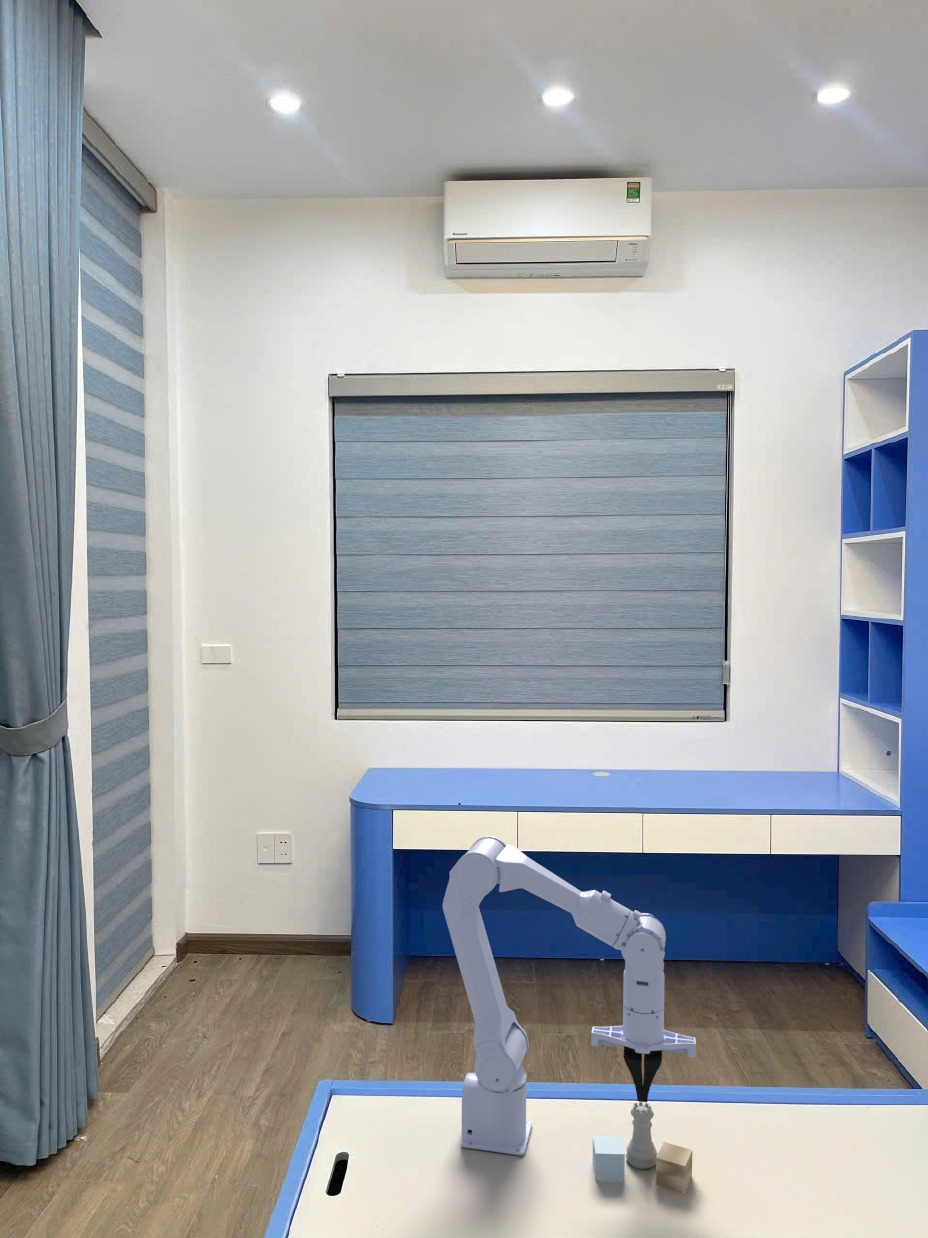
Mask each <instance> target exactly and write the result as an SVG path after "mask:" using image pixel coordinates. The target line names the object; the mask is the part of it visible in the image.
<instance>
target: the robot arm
mask: <svg viewBox="0 0 928 1238" xmlns="http://www.w3.org/2000/svg"><path fill="white" fill-rule="evenodd" d="M497 884H498V885H499V889H498V892H499V893H504V892H508V891H513V890H514V891H515V890H517V889H523V890H525V891H527V892H529V893H531V894H533V895H535V896H536V897H538V898H541V899H543V900H545V901H546V902H549V903H551V904H553V905H555V906H557V907H559V908H560V909H562V910H565V911H566V912H568V913H570V914H571V915H572V918H573V920H574V923H575V925H576V927H578V928H579V929H582V930H583V931H584V932H586V933H588V934H589V935H592V936H593V937H594V938H597V939H598V940H600V941H602V942H603V943H605V944H607V945H608V946H610V947H612V948H614V949H615V950H618V951H621V952H620V953H621V956H622V958H623V960H624V962H625V963H624V970H623V981H622V982H623V984H622V985H623V988H622V989H623V995H622V997H623V998H622V999H623V1000H622V1002H623V1003H622V1005H623V1006H622V1025H613V1026H611V1025H610V1026H592V1028H591V1032H590V1033H591V1034H590V1035H591V1036H590V1037H591V1041H590V1042H591V1046H593V1047H599V1046H600V1045H601V1046H602V1045H603V1046H612V1047H621V1048H623V1060H624V1064H625V1065H626V1066H627V1069H628V1070H629V1074H630V1075H631V1078H632V1081H633V1084H634V1088H635V1092H636V1100H637V1102H642V1103H648V1100H649V1099H648V1098H649V1093H650V1089H651V1086H652V1083H653V1081H654V1079H655V1076H656V1074H657V1072H658V1071H659V1069H660V1067H661V1064H662V1062H663V1052H666V1053H675V1054H685V1055H687V1057H689V1058H690V1057H691V1058H696V1057H697V1040H696V1038H697V1037H695V1036H689V1035H684V1034H680V1033H676V1032H673V1031H669V1030H666V1029H665V977H666V976H665V973H664V969H665V962H664V959H665V955H666V952H665V947H666V940H667V939H666V938H667V935H666V934H667V933H666V930H665V928H664V927H665V926H664V925H663V923H662V922H661V921H660V920H659V919H657V918H656V917H655V916H654V915H653V914H651V913H647V912H645V913H644V912H641V911H639V910H636V909H635V910H634V911H633V910H631V909H630V908H628V907H626V906H624V905H623V904H620V903H619V902H617V901H615V900H613V899H612V898H611V896H612V894H611V893H609V892H608V891H606V890H602V892H600V891H598V890H596V889H593V890H592V889H591V890H587V891H586V890H585V891H581V890H580V889H578V888H577V887H575V886H574V885H572V884H571V883H569V882H567V881H566V880H564V879H563V878H561V877H560V876H558V875H556V874H555V873H553V872H552V871H551V870H548V868H546V867H544V866H543V865H541V864H539V863H537V862H536V861H535V860H533V859H532V858H530V857H529V856H527V855H526V854H525V853H523V851H521V850H520V849H519V848H517V847H516V846H514V845H512V844H509V843H507V844H506V843H505V841H503V840H502V839H500V838H498V837H497V836H493V835H492V836H491V835H487V836H483V837H480V838H478V839H477V840H476V841H475V842H473V844H472V845H471V847H470V848H469V849H468V850H467V852H466V853H465V854H463V855H462V856H461V857H460V858H459V859H458V861H457V862H456V863H455V865H453V867H452V868H451V870H450V871H449V880H448V883H447V886H446V890H445V893H444V897H443V900H442V901H443V902H442V911H443V914H444V918H445V921H446V924H447V928H448V932H449V935H450V939H451V941H452V942H451V943H452V945H453V949H454V953H455V955H456V956H455V957H456V960H457V963H458V967H459V969H460V970H459V971H460V974H461V977H462V981H463V985H464V988H465V993H466V995H467V999H468V1002H469V1005H470V1008H471V1013H472V1016H473V1019H474V1030H473V1033H474V1034H473V1047H474V1050H475V1062H474V1072H467V1073H466V1075H465V1077H464V1081H463V1085H462V1095H461V1140H460V1147H461V1148H466V1149H473V1150H479V1151H480V1150H481V1151H487V1152H494V1153H500V1154H501V1153H502V1154H507V1155H514V1156H515V1155H516V1156H524V1155H526V1150H527V1146H528V1142H529V1140H530V1139H529V1138H530V1134H531V1130H532V1128H533V1127H532V1126H533V1123H532V1121H530V1120H527V1073H526V1070H525V1068H524V1065H523V1063H522V1062H523V1061H524V1058H525V1056H526V1055H527V1053H528V1050H529V1047H530V1045H529V1044H530V1043H529V1037H528V1035H527V1033H526V1031H525V1029H524V1028H523V1027H522V1026H521V1025H520V1024H519V1022H518V1020H517V1016H516V1013H515V1011H514V1010H512V1009H511V1008H510V1007H508V1004H507V1002H506V997H505V995H504V994H505V993H504V989H503V987H502V984H501V983H502V982H501V980H500V976H499V972H498V969H497V966H496V961H495V960H494V959H495V958H494V955H493V953H492V952H493V951H492V948H491V945H490V941H489V938H488V937H489V936H488V934H487V931H486V928H485V927H486V926H485V923H484V920H483V917H482V914H481V911H480V904H481V902H482V901H483V899H484V897H485V896H487V895H488V894H489V893H490V892H492V891H493V889H494V888H495V887H496V885H497ZM642 1062H643V1063H642ZM642 1065H643V1066H642ZM642 1069H643V1070H642Z"/></svg>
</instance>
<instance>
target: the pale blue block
mask: <svg viewBox="0 0 928 1238" xmlns="http://www.w3.org/2000/svg"><path fill="white" fill-rule="evenodd" d="M625 1159H626V1154H625V1148H624V1144H623V1140H622V1136H616V1135H615V1136H613V1135H611V1136H610V1135H608V1136H607V1135H592V1169H593V1174H594V1175H593V1176H594V1180H595V1182H614V1183H615V1182H616V1183H617V1182H621V1183H624V1182H625V1172H626V1171H625V1168H626V1167H625V1165H626V1164H625V1161H626V1160H625Z"/></svg>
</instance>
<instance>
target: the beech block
mask: <svg viewBox="0 0 928 1238" xmlns="http://www.w3.org/2000/svg"><path fill="white" fill-rule="evenodd" d="M692 1178H693V1149H691V1148H690V1149H689V1148H687V1147H684V1146H681V1145H676V1144H673V1143H670V1142H666V1141H663V1143H662V1145H661V1147H660V1148H659V1151H658V1152H657V1157H656V1164H655V1186H657V1187H659V1188H663V1189H666V1190H670V1191H672V1192H674V1193H675V1192H676V1193H679V1194H682V1195H686V1192H687V1190H688V1188H689V1186H690V1183H691V1181H692Z"/></svg>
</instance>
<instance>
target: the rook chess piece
mask: <svg viewBox="0 0 928 1238" xmlns="http://www.w3.org/2000/svg"><path fill="white" fill-rule="evenodd" d="M630 1115H631V1116H632V1117H633V1120H632V1122H631V1123H632V1127H633V1129H632V1134H631V1135H632V1137H631V1139H630V1140H629V1143H628V1144H627V1147H626V1154H625V1159H626V1160H627V1162H628V1163H629V1164H630V1165H631V1166H632V1167H633V1168H635V1169H638V1170H649V1169H650V1170H651V1169H652V1168H653V1167H655V1166H656V1157H657V1155H658V1152H657V1148H656V1146H655V1144H654V1142H653V1140H652V1139H653V1138H652V1132H651V1131H652V1129H651V1128H652V1126H653V1124H652V1119H653V1118H654V1115H655V1114H654V1111H653V1110H652V1106H651V1105H649V1103H648V1102H644V1104H643V1102H640V1101H638V1103H637V1102H634V1104H633V1105H632V1108H631V1110H630Z"/></svg>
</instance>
